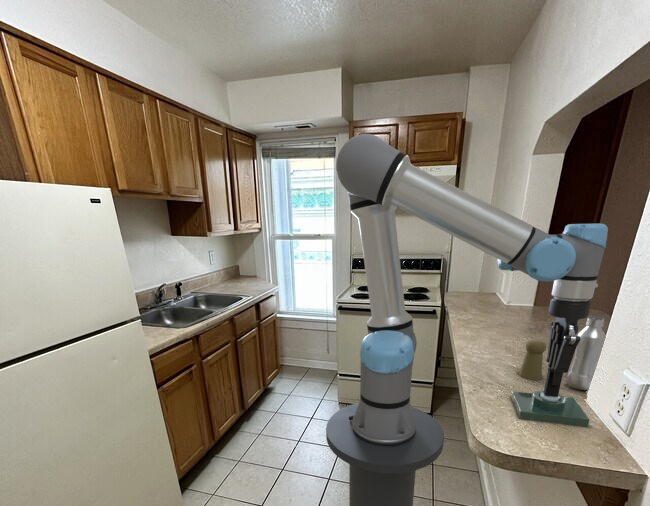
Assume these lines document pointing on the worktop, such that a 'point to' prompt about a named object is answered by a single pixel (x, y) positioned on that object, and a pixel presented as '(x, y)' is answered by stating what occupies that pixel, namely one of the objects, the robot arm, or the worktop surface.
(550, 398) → the white push button
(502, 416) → the worktop surface
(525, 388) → the worktop surface
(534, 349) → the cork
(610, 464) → the worktop surface
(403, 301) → the robot arm
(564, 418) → the green button base
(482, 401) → the worktop surface
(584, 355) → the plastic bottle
